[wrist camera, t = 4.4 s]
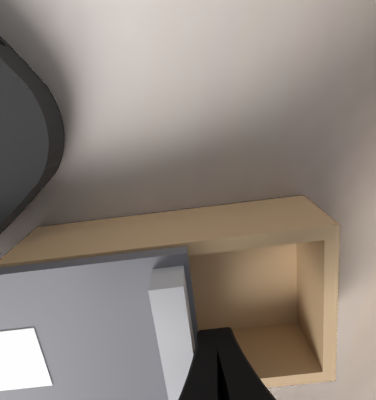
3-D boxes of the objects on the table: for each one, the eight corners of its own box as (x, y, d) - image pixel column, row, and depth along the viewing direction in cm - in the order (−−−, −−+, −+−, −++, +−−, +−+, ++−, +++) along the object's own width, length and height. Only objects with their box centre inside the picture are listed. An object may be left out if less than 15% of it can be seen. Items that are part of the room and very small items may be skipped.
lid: (186, 245, 12) (187, 273, 10) (207, 399, 15) (211, 444, 13) (-160, 286, 13) (-220, 319, 11) (-83, 429, 15) (-122, 477, 13)
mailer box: (303, 195, 16) (339, 224, 12) (304, 323, 19) (335, 380, 15) (37, 226, 17) (-7, 265, 13) (72, 348, 19) (44, 410, 15)
